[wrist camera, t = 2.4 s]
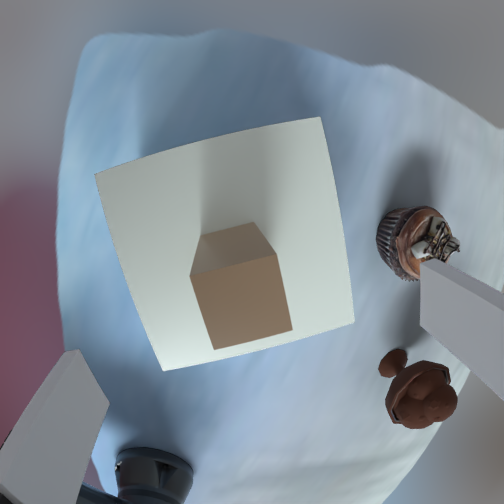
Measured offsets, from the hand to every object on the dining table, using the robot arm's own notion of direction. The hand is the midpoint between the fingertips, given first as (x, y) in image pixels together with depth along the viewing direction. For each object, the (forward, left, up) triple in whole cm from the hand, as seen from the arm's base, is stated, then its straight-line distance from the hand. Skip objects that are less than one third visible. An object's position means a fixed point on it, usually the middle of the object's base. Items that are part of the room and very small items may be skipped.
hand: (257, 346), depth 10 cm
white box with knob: (0, 0, -27) cm, 27 cm away
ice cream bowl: (+20, -28, -27) cm, 44 cm away
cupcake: (+22, -7, -27) cm, 35 cm away
